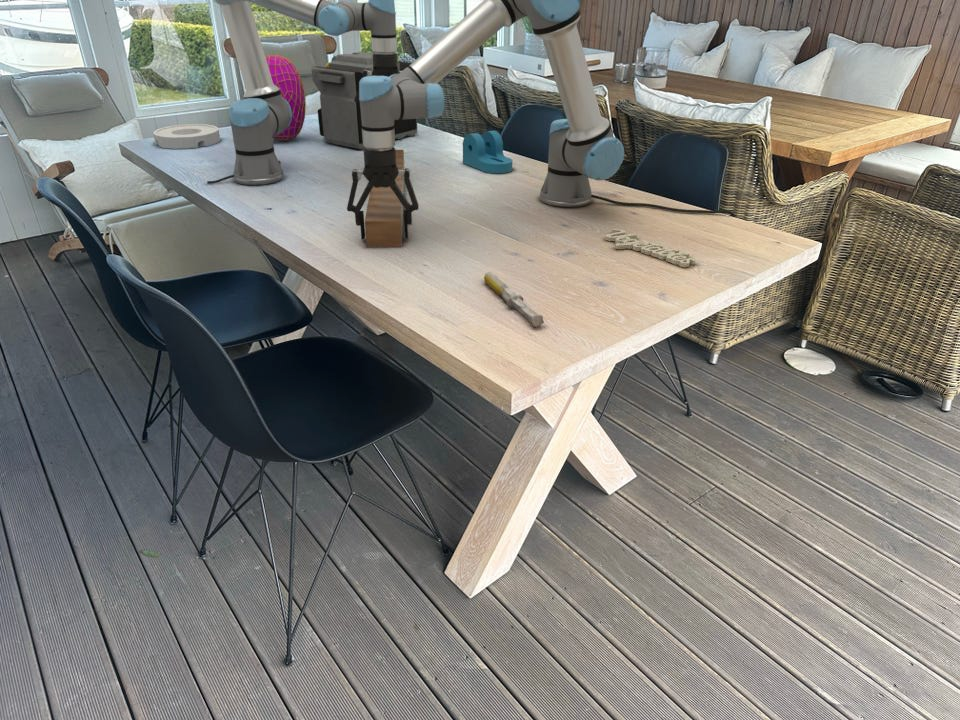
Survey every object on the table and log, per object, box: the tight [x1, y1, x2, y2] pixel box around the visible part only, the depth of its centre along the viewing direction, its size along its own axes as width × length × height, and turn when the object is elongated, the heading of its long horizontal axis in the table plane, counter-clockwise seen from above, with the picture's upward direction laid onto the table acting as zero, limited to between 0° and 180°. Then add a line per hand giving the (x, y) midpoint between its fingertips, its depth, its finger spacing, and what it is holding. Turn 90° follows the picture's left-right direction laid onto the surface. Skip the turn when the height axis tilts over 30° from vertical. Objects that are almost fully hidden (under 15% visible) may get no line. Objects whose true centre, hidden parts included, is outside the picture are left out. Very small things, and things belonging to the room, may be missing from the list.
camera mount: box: [462, 130, 513, 174], centre depth 231 cm, size 18×10×10 cm, turn 35°
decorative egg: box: [265, 54, 307, 142], centre depth 257 cm, size 19×19×30 cm
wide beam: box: [364, 149, 406, 248], centre depth 198 cm, size 71×9×7 cm, turn 5°
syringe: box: [483, 271, 545, 328], centre depth 142 cm, size 25×4×3 cm, turn 21°
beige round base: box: [152, 123, 221, 150], centre depth 260 cm, size 23×23×4 cm
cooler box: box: [311, 51, 418, 150], centre depth 260 cm, size 37×22×30 cm, turn 144°
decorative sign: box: [605, 228, 696, 268], centre depth 169 cm, size 26×1×10 cm
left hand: (388, 125), depth 218 cm, fingers open, 13 cm apart
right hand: (384, 237), depth 173 cm, fingers open, 10 cm apart
